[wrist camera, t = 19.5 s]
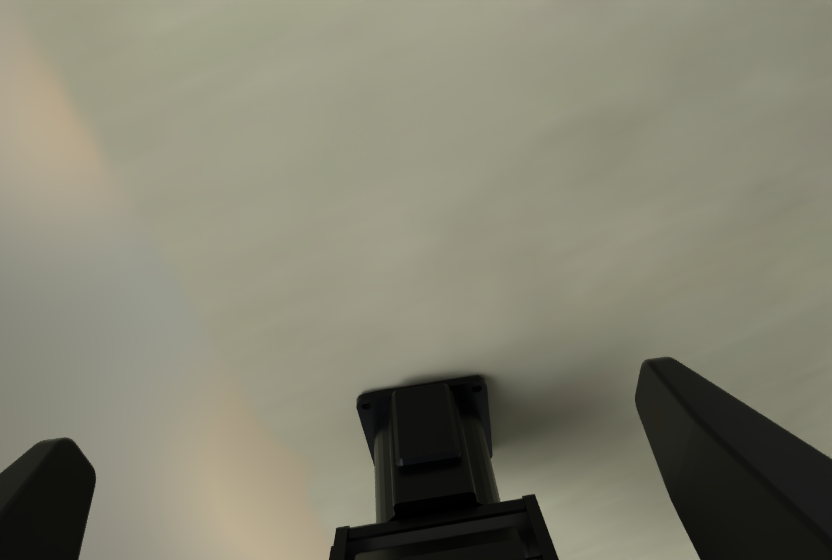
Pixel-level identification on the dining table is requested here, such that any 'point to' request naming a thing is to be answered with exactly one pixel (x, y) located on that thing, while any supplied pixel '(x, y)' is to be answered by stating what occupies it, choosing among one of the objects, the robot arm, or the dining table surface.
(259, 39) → the dining table surface
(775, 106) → the dining table surface
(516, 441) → the dining table surface
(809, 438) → the dining table surface
